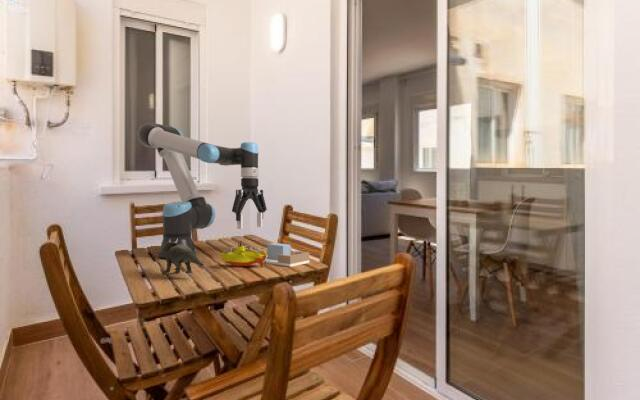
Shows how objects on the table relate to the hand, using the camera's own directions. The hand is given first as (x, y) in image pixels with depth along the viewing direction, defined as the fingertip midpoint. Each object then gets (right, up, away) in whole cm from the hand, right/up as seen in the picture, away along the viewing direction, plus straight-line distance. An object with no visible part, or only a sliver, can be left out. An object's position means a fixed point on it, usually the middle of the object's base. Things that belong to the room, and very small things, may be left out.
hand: (250, 227), depth 169 cm
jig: (+9, -13, -7) cm, 17 cm away
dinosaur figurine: (-19, -14, -33) cm, 40 cm away
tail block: (+14, -12, -11) cm, 21 cm away
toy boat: (+1, -14, -21) cm, 25 cm away
